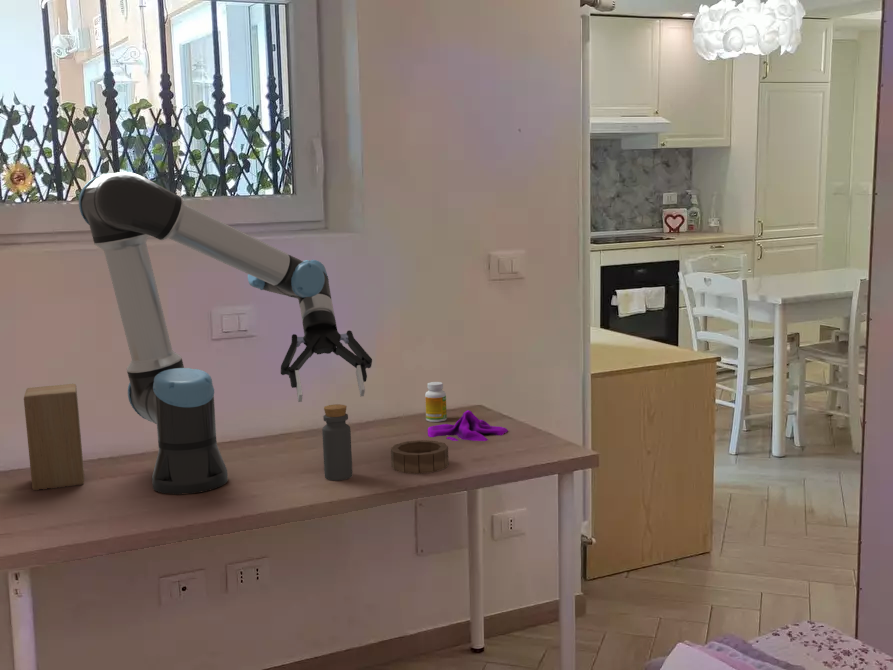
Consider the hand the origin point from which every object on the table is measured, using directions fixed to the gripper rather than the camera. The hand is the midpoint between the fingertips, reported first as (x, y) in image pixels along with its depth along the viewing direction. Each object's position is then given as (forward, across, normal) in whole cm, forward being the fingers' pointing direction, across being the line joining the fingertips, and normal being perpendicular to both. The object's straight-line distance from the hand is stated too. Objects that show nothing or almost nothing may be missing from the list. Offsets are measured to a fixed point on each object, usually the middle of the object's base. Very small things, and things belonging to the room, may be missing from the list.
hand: (331, 395), depth 209 cm
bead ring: (+16, -17, -5) cm, 24 cm away
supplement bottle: (-11, -32, -34) cm, 48 cm away
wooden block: (+5, +58, -17) cm, 60 cm away
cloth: (+1, -35, -22) cm, 42 cm away
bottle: (+18, +1, -4) cm, 18 cm away
